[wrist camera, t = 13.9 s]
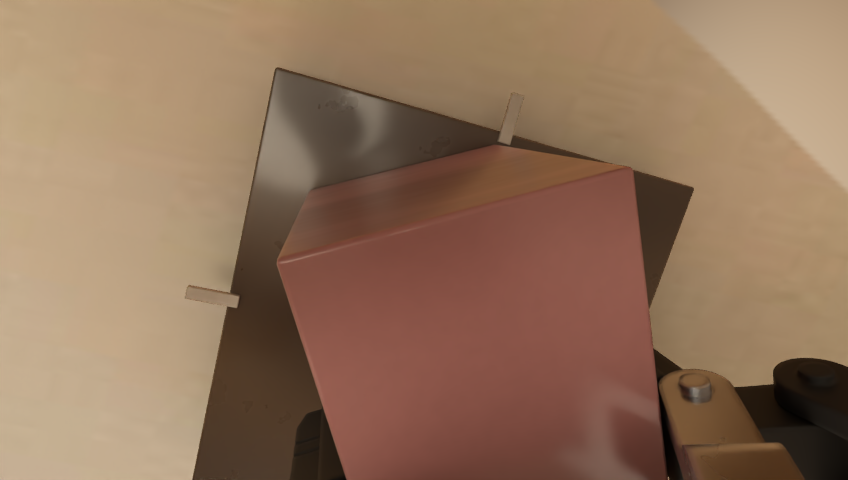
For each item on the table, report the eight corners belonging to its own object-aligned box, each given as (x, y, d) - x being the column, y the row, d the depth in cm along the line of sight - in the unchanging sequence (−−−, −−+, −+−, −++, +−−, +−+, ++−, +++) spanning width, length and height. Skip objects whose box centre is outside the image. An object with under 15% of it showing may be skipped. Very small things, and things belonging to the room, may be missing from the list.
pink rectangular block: (307, 190, 14) (270, 264, 7) (497, 143, 14) (645, 166, 7) (400, 508, 17) (443, 788, 10) (555, 459, 17) (700, 692, 10)
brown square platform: (253, 23, 14) (238, 7, 12) (694, 157, 18) (741, 162, 15) (167, 475, 17) (143, 523, 15) (560, 519, 20) (584, 565, 18)
